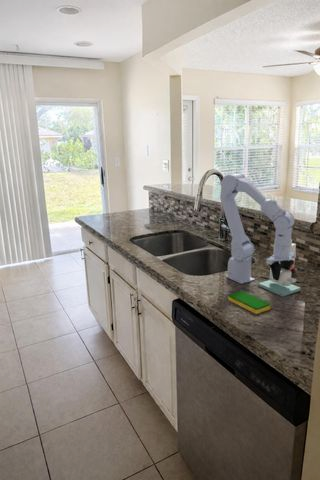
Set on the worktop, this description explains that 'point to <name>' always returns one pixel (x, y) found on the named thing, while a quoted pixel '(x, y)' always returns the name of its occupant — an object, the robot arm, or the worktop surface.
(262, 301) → the dish sponge
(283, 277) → the white rounded piece
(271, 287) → the teal mat
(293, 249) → the ink cartridge box
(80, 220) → the worktop surface
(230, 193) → the robot arm
